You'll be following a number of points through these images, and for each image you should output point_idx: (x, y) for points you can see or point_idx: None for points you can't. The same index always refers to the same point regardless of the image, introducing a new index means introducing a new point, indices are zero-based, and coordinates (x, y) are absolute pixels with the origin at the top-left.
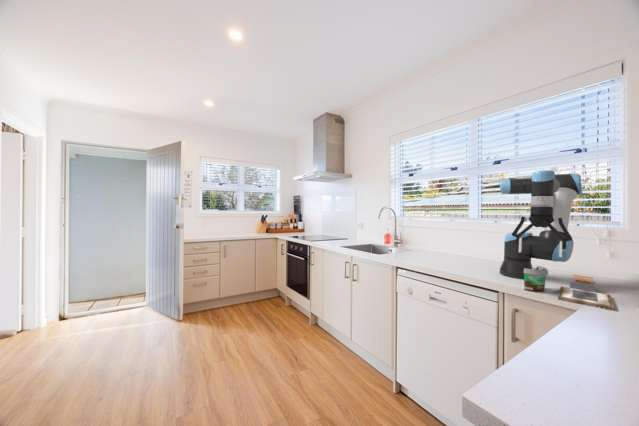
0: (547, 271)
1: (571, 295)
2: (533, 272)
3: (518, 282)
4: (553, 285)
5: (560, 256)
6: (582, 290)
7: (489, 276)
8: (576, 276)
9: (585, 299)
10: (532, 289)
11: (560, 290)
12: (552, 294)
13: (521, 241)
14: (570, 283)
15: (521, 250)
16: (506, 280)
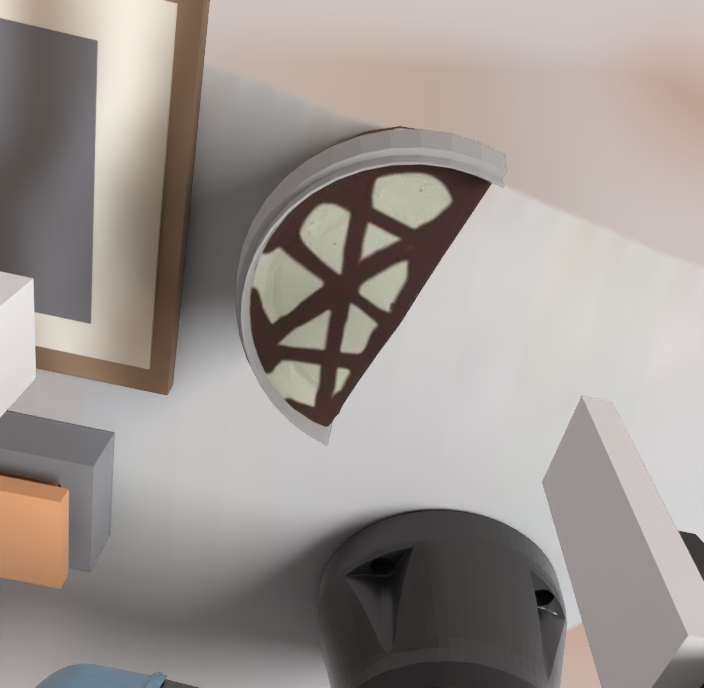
0: (242, 259)
1: (102, 101)
2: (400, 139)
3: (461, 391)
4: (215, 444)
5: (9, 278)
6: None
7: (674, 461)
8: (40, 537)
9: (4, 20)
10: (396, 128)
11: (176, 249)
12: (243, 139)
13: (631, 590)
14: (99, 455)
15: (555, 481)
16: (551, 403)
